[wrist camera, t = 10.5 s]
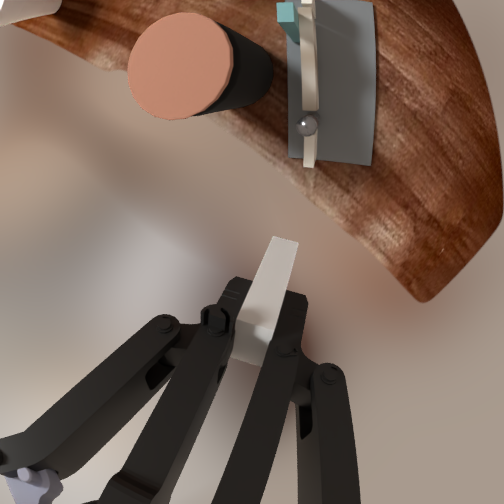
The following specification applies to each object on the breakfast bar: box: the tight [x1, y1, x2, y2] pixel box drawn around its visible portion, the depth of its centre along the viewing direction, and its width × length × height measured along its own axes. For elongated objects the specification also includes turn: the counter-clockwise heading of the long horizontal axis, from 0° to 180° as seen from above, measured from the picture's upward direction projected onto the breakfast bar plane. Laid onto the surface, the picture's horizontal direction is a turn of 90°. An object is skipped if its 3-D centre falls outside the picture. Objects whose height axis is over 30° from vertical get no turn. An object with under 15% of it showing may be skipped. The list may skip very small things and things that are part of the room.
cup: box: [0, 0, 62, 27], centre depth 20 cm, size 11×11×18 cm
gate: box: [298, 7, 319, 111], centre depth 26 cm, size 13×2×7 cm, turn 3°
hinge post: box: [296, 112, 321, 137], centre depth 29 cm, size 2×2×12 cm
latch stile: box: [277, 2, 300, 42], centre depth 23 cm, size 2×2×12 cm
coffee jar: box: [128, 12, 273, 120], centre depth 26 cm, size 11×11×18 cm
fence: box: [301, 0, 318, 168], centre depth 27 cm, size 24×1×7 cm, turn 2°
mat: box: [285, 0, 376, 166], centre depth 30 cm, size 25×12×1 cm, turn 2°
